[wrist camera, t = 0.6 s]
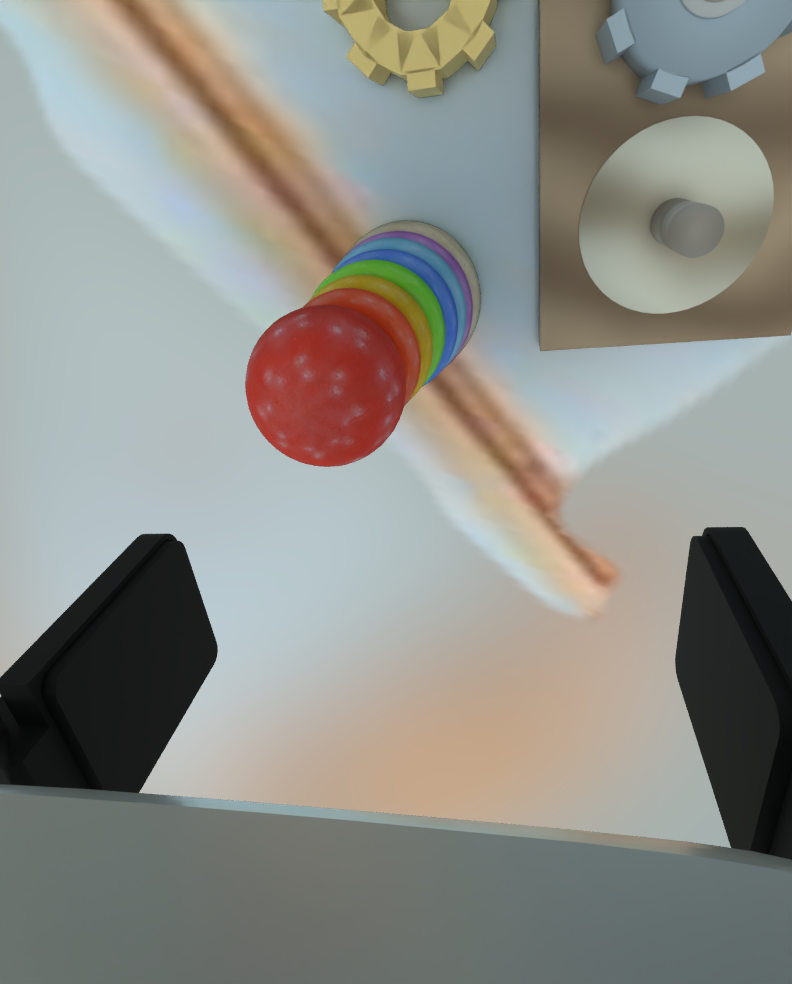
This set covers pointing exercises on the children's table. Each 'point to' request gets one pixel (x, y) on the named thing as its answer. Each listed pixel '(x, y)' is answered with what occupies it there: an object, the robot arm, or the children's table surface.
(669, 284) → the gear board
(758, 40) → the slate gear
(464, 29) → the ochre gear
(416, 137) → the children's table surface
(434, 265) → the stacking toy
